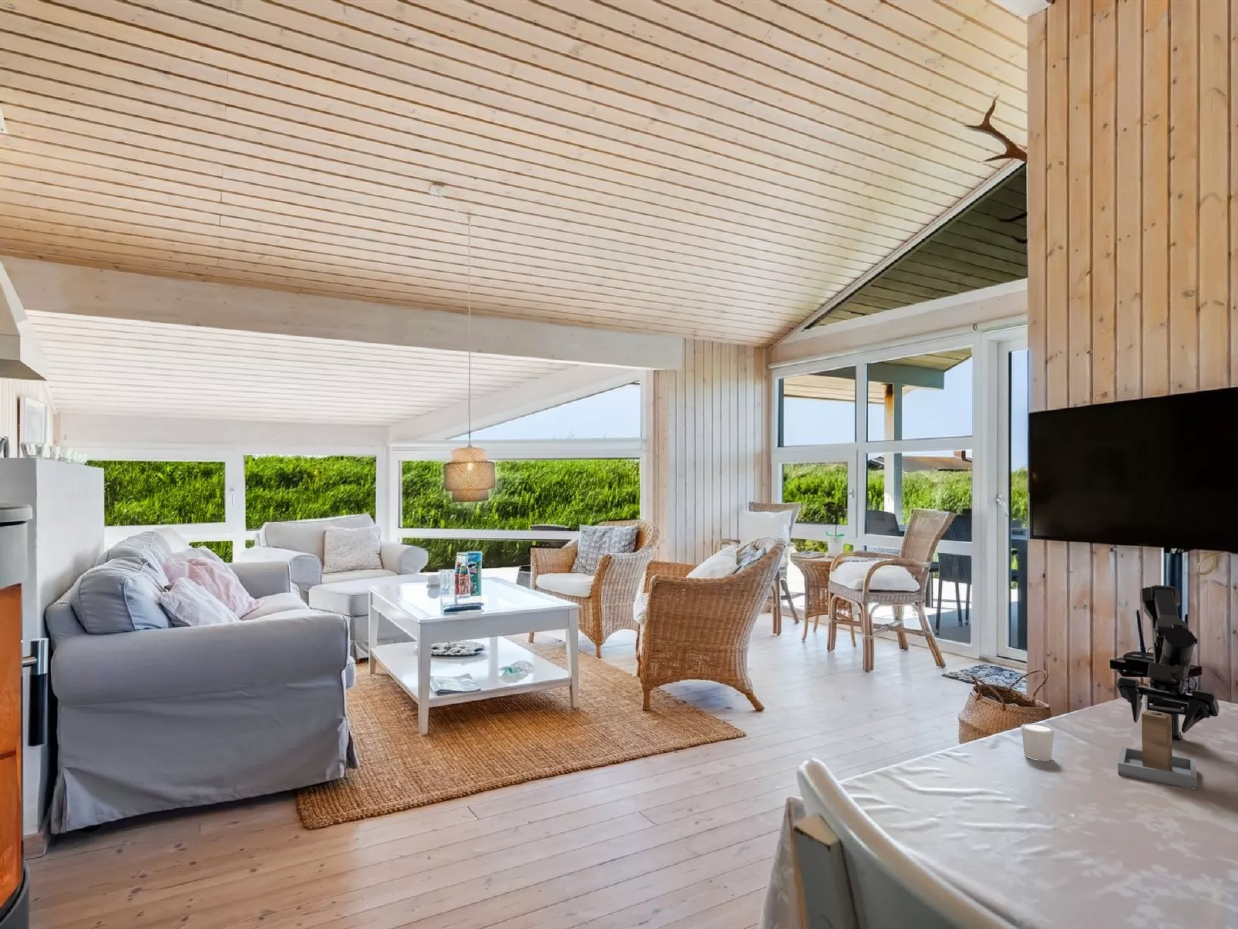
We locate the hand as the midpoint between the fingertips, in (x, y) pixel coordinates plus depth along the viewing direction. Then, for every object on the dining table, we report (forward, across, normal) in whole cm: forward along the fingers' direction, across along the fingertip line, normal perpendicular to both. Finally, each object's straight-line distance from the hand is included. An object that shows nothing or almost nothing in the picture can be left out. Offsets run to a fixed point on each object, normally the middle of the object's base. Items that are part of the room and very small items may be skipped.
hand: (1158, 726), depth 170 cm
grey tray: (+8, 0, +6) cm, 10 cm away
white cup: (+16, -21, -2) cm, 26 cm away
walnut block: (+8, 0, +5) cm, 9 cm away
